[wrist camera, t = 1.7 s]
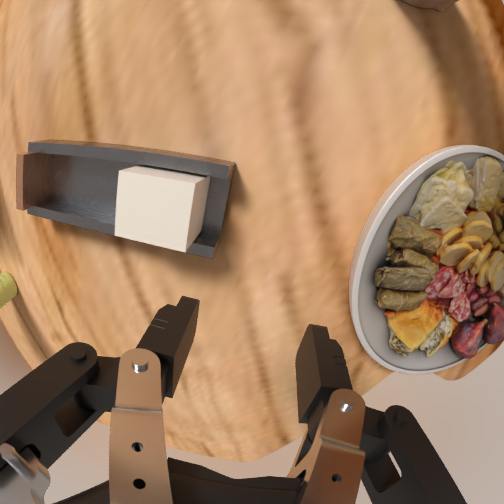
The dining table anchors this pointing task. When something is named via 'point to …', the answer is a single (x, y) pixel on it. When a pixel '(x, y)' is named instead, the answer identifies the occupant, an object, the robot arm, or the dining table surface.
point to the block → (160, 206)
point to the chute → (109, 184)
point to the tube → (7, 288)
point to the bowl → (433, 263)
